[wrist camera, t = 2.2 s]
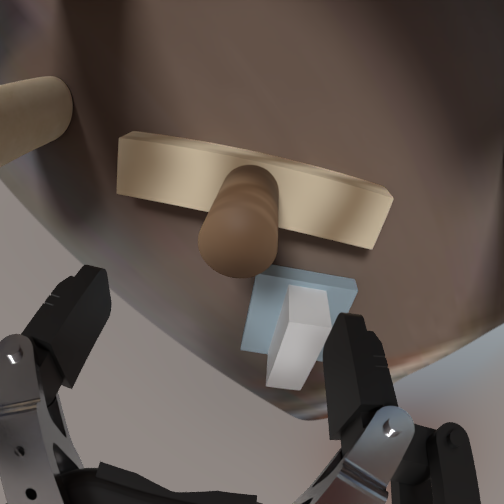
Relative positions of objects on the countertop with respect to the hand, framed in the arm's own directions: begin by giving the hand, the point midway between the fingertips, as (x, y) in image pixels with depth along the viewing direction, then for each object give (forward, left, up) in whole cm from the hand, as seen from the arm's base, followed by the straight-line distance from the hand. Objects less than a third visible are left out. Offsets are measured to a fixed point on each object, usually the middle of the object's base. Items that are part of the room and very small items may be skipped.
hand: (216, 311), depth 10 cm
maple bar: (0, 0, -13) cm, 13 cm away
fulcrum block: (-6, +11, -13) cm, 18 cm away
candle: (+17, -4, -13) cm, 22 cm away
